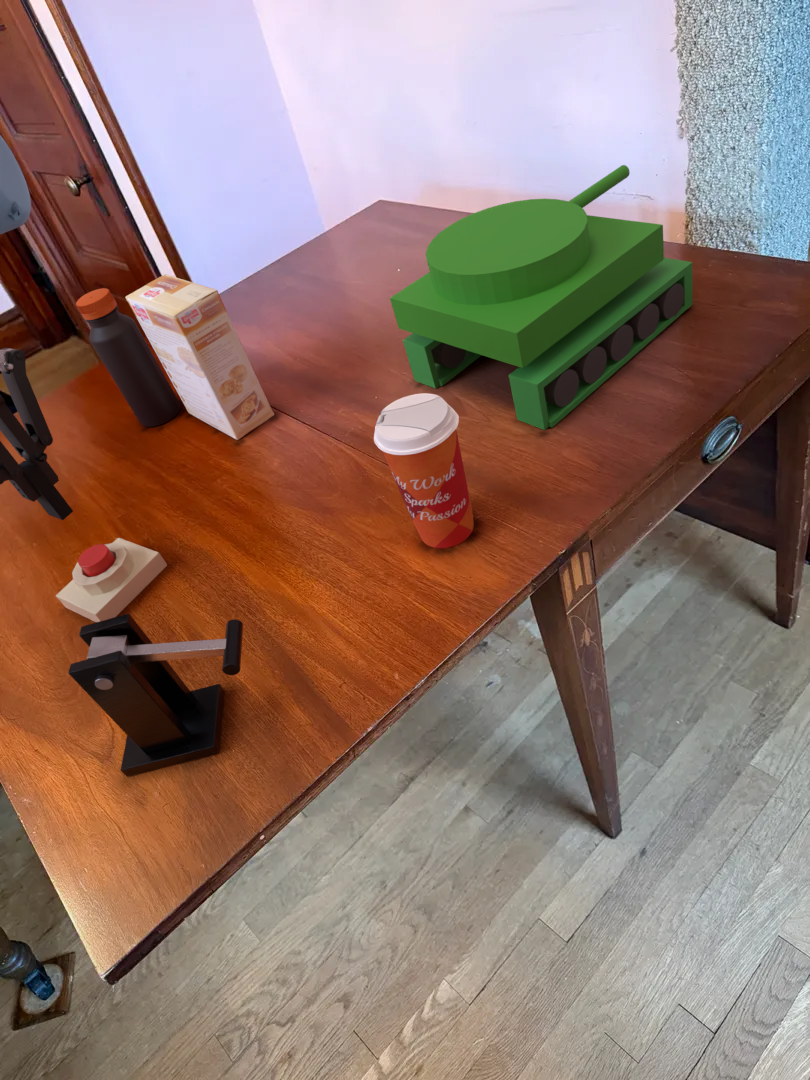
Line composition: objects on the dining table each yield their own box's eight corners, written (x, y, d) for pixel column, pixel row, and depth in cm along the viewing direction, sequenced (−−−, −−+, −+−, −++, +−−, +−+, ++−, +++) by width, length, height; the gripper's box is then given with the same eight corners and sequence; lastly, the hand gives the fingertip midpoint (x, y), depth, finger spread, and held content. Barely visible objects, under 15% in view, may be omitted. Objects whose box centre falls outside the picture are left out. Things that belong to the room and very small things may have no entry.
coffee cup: (402, 557, 79) (359, 445, 69) (418, 504, 84) (381, 393, 74) (479, 555, 76) (446, 439, 66) (491, 500, 81) (462, 385, 71)
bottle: (132, 427, 116) (59, 310, 102) (158, 401, 120) (91, 285, 106) (163, 429, 112) (92, 309, 99) (190, 402, 116) (124, 283, 103)
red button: (98, 580, 84) (89, 570, 83) (80, 572, 86) (71, 562, 85) (121, 558, 86) (113, 547, 84) (103, 551, 88) (95, 540, 86)
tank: (719, 289, 100) (722, 162, 89) (547, 431, 87) (526, 305, 77) (575, 263, 116) (562, 153, 105) (413, 380, 104) (380, 269, 93)
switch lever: (244, 633, 66) (241, 614, 64) (241, 678, 62) (238, 660, 60) (102, 643, 64) (95, 624, 63) (90, 690, 61) (82, 671, 59)
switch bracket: (224, 690, 72) (156, 597, 63) (219, 753, 67) (143, 662, 58) (138, 712, 73) (58, 624, 64) (126, 777, 68) (37, 690, 59)
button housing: (105, 627, 83) (86, 604, 81) (65, 607, 88) (46, 585, 85) (167, 565, 88) (151, 541, 86) (127, 549, 93) (110, 526, 90)
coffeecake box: (276, 414, 107) (218, 288, 94) (237, 442, 104) (172, 316, 91) (224, 389, 117) (165, 271, 104) (187, 413, 114) (122, 296, 101)
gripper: (-143, 363, 59) (32, 563, 75) (-10, 280, 66) (125, 480, 82) (-179, 354, 63) (-6, 546, 79) (-51, 277, 70) (86, 468, 86)
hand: (61, 512), depth 80 cm, fingers closed
